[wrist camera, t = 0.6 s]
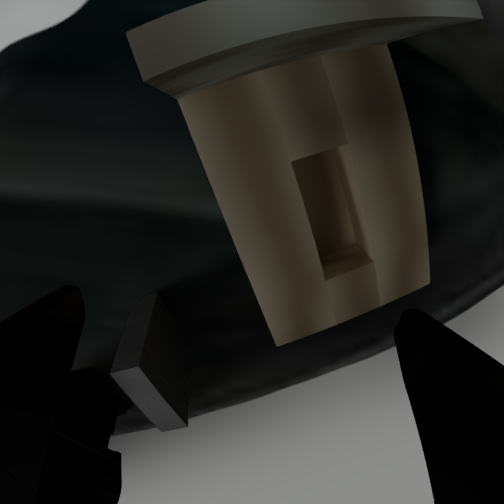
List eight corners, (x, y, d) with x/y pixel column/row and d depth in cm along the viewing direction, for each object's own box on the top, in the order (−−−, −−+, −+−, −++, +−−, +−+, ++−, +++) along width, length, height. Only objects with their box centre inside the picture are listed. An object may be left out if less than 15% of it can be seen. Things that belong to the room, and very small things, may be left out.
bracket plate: (170, 356, 25) (161, 431, 18) (134, 300, 23) (109, 373, 16) (191, 349, 25) (187, 426, 18) (157, 292, 23) (138, 366, 16)
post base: (267, 314, 25) (303, 443, 14) (176, 81, 17) (125, 32, 6) (404, 260, 24) (497, 348, 13) (350, 33, 17) (468, -19, 6)
